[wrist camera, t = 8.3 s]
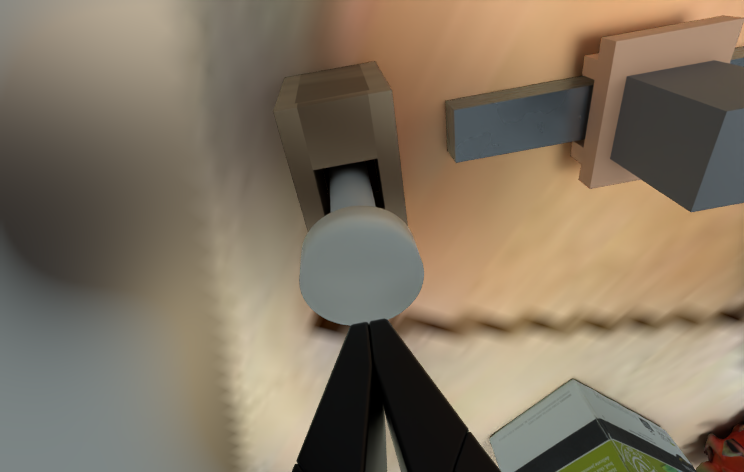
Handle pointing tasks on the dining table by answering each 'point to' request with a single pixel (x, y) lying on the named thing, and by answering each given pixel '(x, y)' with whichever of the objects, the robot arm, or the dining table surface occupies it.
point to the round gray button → (358, 255)
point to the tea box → (585, 437)
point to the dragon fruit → (725, 452)
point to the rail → (523, 117)
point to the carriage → (668, 113)
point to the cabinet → (339, 134)
